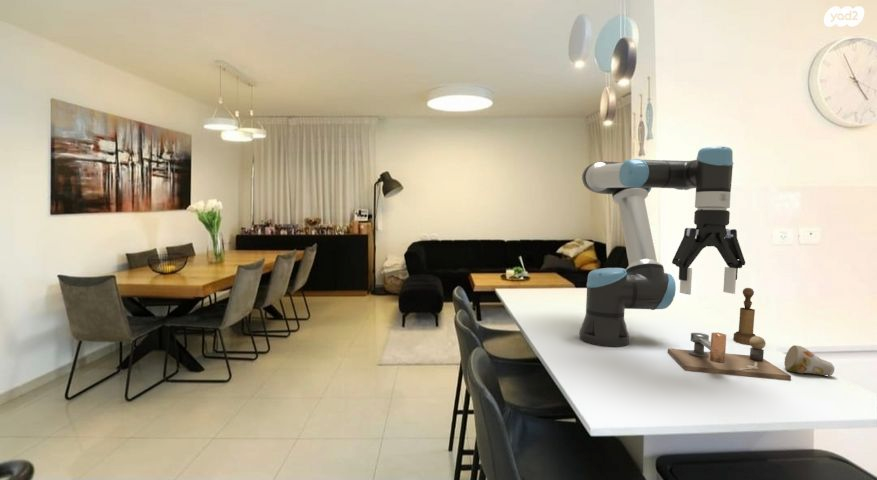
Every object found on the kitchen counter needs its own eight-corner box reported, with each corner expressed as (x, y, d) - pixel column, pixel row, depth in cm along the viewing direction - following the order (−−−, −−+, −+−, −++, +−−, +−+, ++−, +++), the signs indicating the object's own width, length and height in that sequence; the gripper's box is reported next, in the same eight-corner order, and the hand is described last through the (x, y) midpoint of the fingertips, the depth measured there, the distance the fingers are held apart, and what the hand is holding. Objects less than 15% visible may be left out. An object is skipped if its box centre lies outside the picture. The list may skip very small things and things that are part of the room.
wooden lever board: (685, 370, 114) (686, 341, 114) (667, 352, 130) (669, 326, 129) (790, 380, 109) (792, 349, 108) (759, 360, 124) (760, 333, 124)
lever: (688, 343, 127) (689, 320, 126) (704, 345, 126) (706, 321, 125) (710, 362, 110) (711, 335, 110) (729, 363, 109) (731, 336, 109)
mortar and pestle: (761, 345, 140) (765, 290, 139) (739, 344, 141) (742, 289, 140) (751, 340, 146) (754, 287, 145) (729, 338, 148) (732, 286, 147)
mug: (843, 382, 109) (824, 348, 109) (796, 391, 114) (779, 358, 114) (833, 367, 115) (816, 334, 115) (790, 375, 120) (773, 344, 120)
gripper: (682, 207, 103) (677, 296, 104) (765, 210, 109) (760, 294, 110) (659, 208, 110) (655, 291, 111) (738, 211, 116) (733, 290, 117)
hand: (707, 293), depth 110 cm, fingers open, 13 cm apart
